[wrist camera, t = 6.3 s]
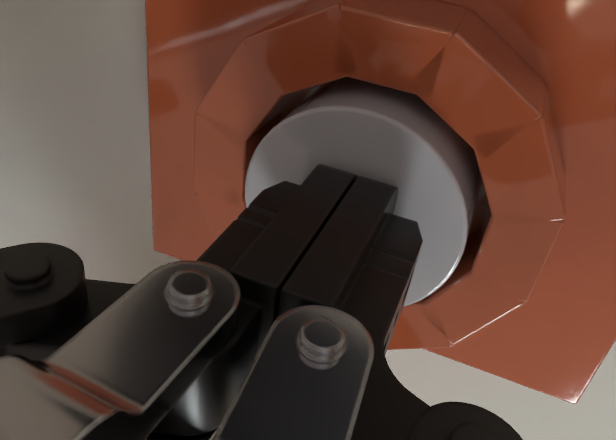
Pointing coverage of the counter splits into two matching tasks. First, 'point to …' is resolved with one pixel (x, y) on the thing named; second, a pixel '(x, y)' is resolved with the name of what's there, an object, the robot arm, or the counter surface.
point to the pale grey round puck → (381, 164)
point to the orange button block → (457, 114)
